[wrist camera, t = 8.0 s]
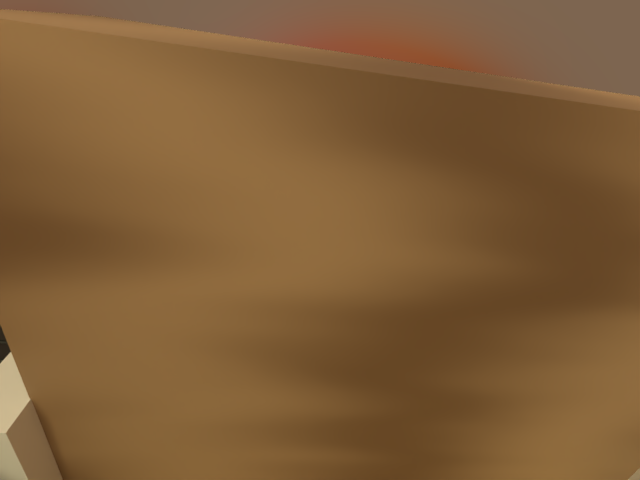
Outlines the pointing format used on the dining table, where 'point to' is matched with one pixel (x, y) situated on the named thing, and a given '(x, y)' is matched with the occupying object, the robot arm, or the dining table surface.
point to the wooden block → (313, 260)
